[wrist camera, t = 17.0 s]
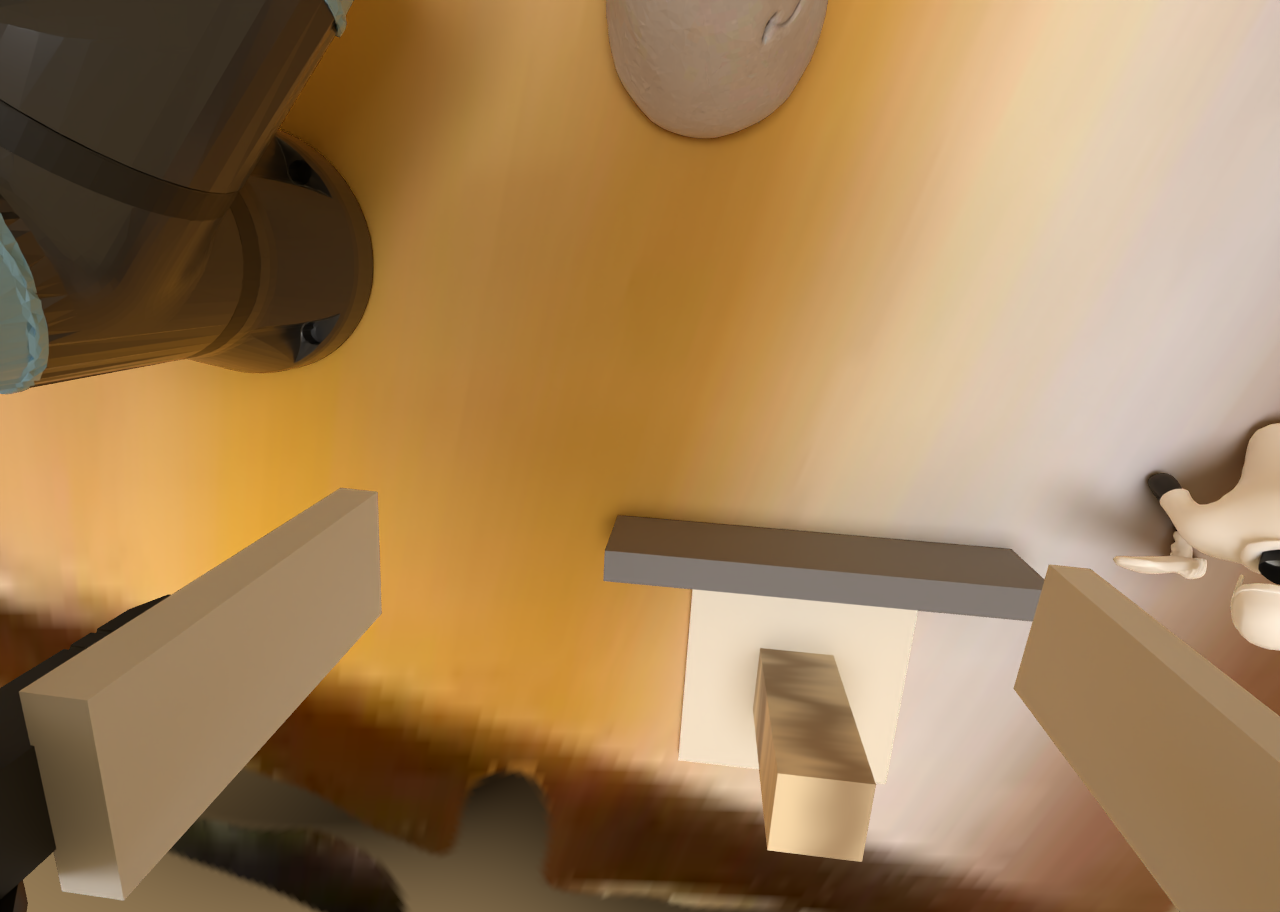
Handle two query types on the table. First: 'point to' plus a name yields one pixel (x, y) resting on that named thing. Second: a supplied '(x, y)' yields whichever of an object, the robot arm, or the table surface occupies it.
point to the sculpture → (712, 58)
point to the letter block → (810, 758)
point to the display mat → (743, 623)
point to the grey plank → (823, 567)
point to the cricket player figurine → (1230, 536)
